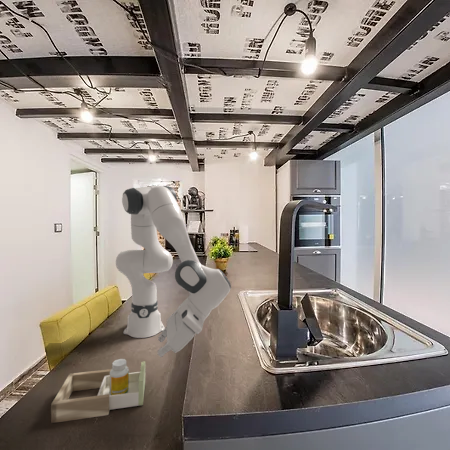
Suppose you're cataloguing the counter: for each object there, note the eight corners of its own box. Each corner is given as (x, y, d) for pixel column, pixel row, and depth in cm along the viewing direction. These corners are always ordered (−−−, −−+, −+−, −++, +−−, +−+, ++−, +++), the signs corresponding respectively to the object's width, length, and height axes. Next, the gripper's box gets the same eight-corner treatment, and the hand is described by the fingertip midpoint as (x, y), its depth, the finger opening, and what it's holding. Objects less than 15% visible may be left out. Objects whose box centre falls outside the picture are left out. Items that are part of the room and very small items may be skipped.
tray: (104, 387, 84) (104, 365, 84) (145, 382, 87) (145, 361, 86) (96, 411, 73) (96, 386, 73) (142, 405, 76) (142, 381, 76)
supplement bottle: (106, 393, 80) (106, 362, 79) (123, 385, 84) (123, 355, 83) (114, 402, 76) (114, 369, 76) (131, 393, 80) (131, 362, 80)
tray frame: (69, 389, 83) (69, 373, 83) (117, 383, 86) (117, 368, 86) (51, 423, 69) (51, 404, 69) (108, 414, 73) (108, 397, 72)
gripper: (182, 297, 94) (153, 327, 91) (186, 318, 74) (150, 356, 72) (194, 309, 95) (166, 338, 93) (202, 333, 75) (166, 371, 73)
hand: (159, 347), depth 82 cm, fingers open, 8 cm apart
